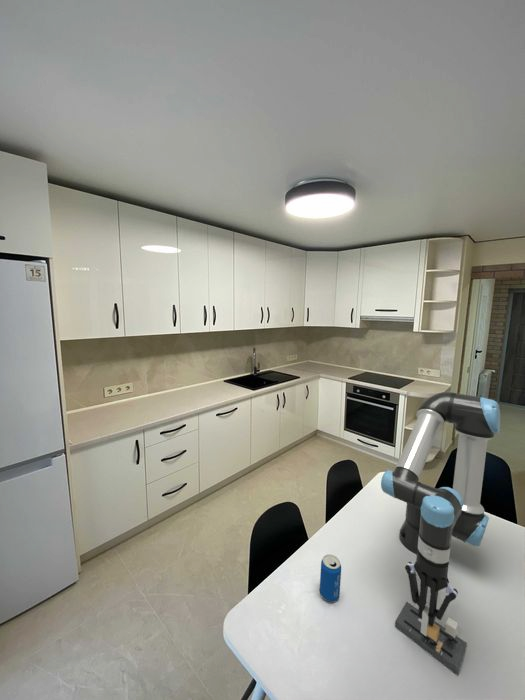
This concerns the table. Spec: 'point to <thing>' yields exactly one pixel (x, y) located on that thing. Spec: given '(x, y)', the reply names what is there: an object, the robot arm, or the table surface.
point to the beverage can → (330, 578)
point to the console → (442, 649)
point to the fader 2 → (451, 628)
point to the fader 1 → (433, 632)
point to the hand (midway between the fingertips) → (425, 630)
